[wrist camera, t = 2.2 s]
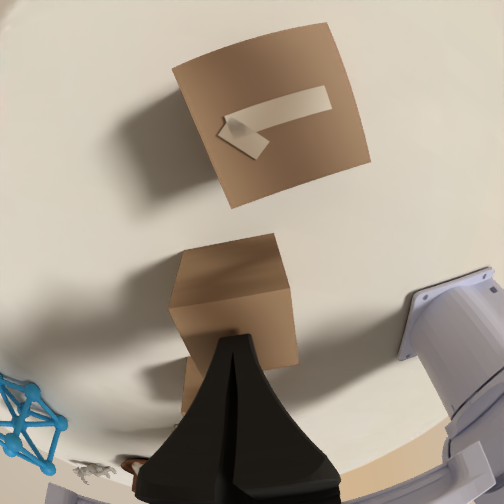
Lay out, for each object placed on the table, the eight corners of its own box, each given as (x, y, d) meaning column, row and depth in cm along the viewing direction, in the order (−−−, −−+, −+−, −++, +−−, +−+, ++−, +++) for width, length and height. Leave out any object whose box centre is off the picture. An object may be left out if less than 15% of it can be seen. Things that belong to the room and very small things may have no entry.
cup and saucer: (204, 468, 35) (204, 500, 30) (170, 477, 39) (168, 503, 34) (138, 449, 31) (133, 483, 26) (113, 458, 35) (108, 486, 29)
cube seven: (254, 353, 20) (259, 411, 15) (256, 388, 22) (260, 439, 18) (187, 355, 20) (180, 413, 15) (199, 390, 22) (196, 441, 18)
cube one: (294, 49, 11) (327, 21, 6) (326, 141, 13) (372, 162, 8) (193, 81, 11) (170, 68, 7) (232, 173, 14) (231, 210, 9)
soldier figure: (124, 468, 41) (95, 480, 40) (111, 450, 42) (83, 463, 41) (105, 481, 33) (76, 491, 32) (90, 461, 35) (63, 473, 34)
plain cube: (273, 232, 15) (290, 288, 11) (284, 302, 18) (298, 364, 13) (184, 249, 15) (167, 308, 11) (207, 316, 18) (203, 378, 14)
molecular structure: (72, 422, 27) (57, 480, 19) (25, 406, 27) (7, 456, 18) (37, 381, 22) (11, 449, 14) (-10, 365, 22) (-36, 420, 13)
